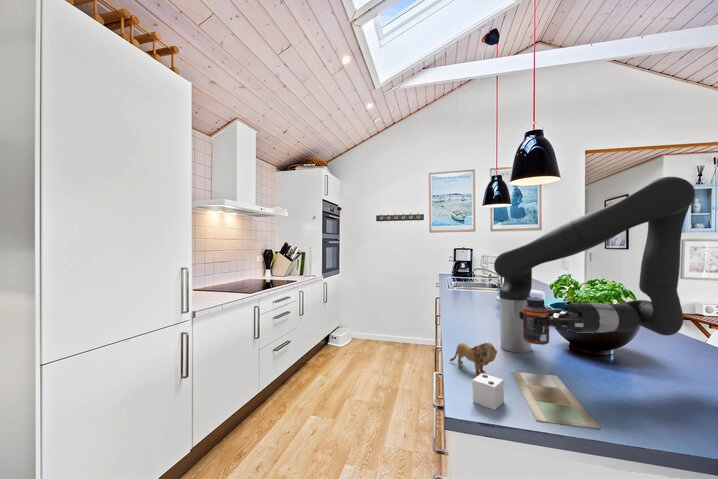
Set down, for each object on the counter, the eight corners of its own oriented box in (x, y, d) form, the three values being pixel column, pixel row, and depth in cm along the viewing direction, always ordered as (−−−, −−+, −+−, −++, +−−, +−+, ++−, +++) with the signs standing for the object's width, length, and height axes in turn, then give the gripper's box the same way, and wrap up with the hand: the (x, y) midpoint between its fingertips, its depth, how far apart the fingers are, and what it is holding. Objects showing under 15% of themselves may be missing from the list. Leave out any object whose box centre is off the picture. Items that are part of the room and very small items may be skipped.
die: (482, 394, 73) (481, 372, 73) (504, 401, 69) (503, 379, 69) (472, 401, 69) (472, 379, 69) (495, 410, 65) (494, 386, 66)
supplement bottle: (552, 346, 76) (551, 301, 76) (525, 344, 78) (524, 300, 78) (546, 339, 81) (545, 297, 81) (521, 337, 83) (520, 296, 83)
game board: (556, 376, 81) (556, 375, 81) (600, 429, 58) (600, 427, 58) (511, 372, 84) (511, 371, 84) (536, 420, 61) (536, 419, 61)
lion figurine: (501, 375, 82) (500, 342, 83) (490, 381, 79) (489, 347, 79) (454, 360, 94) (454, 331, 94) (444, 364, 91) (443, 334, 91)
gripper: (571, 298, 86) (512, 298, 87) (612, 309, 72) (541, 310, 72) (571, 324, 86) (512, 324, 87) (613, 341, 72) (542, 341, 72)
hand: (526, 318), depth 79 cm, fingers closed on supplement bottle, 6 cm apart
